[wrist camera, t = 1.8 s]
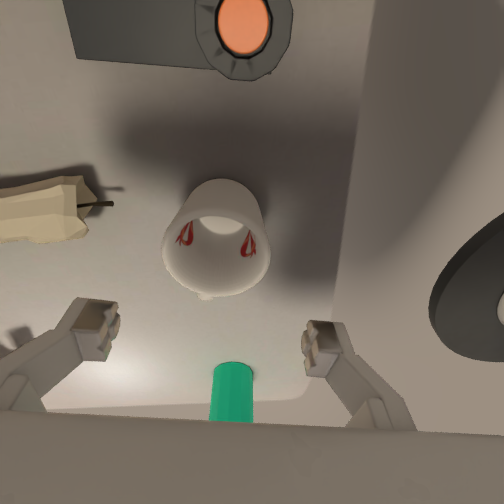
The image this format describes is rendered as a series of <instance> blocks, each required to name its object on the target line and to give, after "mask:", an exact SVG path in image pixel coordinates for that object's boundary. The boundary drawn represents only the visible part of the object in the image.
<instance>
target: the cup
mask: <svg viewBox="0 0 504 504" xmlns="http://www.w3.org/2000/svg"><path fill="white" fill-rule="evenodd" d="M161 253H162V258H163V262H164V264H165V267H166V268H167V270H168V272H169V273H170V274H171V276H172V277H173V278H174V279H175V280H176V281H177V282H178V283H180V284H181V285H183V286H184V287H186V288H187V289H189V290H192V291H194V292H196V293H197V297H198V299H200V300H203V301H211V300H212V299H213V297H214V296H219V297H220V296H230V295H235V294H239V293H242V292H244V291H246V290H248V289H250V288H252V287H253V286H254V285H256V284H257V283H258V282H259V281H260V280H261V279H262V278H263V276H264V275H265V273H266V272H267V270H268V267H269V264H270V259H271V249H270V244H269V240H268V237H267V233H266V230H265V226H264V223H263V219H262V216H261V212H260V209H259V206H258V203H257V201H256V199H255V197H254V196H253V194H252V193H251V192H250V191H249V190H248V189H247V188H246V187H245V186H243V185H242V184H240V183H238V182H236V181H233V180H229V179H213V180H209V181H207V182H205V183H203V184H201V185H199V186H198V187H197V188H196V189H195V190H194V191H193V192H192V193H191V194H190V196H189V197H188V198H187V200H186V201H185V203H184V204H183V206H182V207H181V209H180V210H179V212H178V213H177V215H176V216H175V218H174V219H173V221H172V222H171V224H170V225H169V227H168V228H167V230H166V232H165V234H164V237H163V240H162V246H161Z"/></svg>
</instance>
